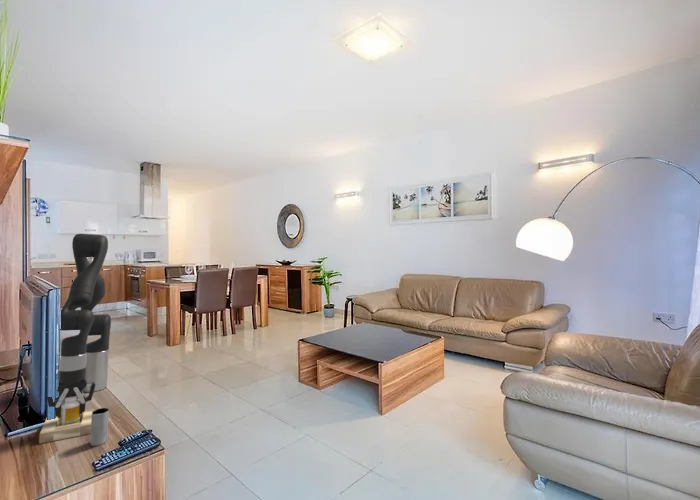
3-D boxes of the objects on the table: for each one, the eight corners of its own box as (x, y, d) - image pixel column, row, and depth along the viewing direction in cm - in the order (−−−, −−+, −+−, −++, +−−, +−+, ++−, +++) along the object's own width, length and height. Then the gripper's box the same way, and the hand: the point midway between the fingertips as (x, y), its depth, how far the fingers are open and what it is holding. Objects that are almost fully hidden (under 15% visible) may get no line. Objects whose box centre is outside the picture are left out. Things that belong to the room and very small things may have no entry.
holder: (46, 424, 124) (47, 416, 124) (95, 416, 131) (95, 408, 131) (39, 443, 112) (39, 434, 112) (92, 432, 120) (93, 424, 120)
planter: (108, 437, 117) (110, 407, 117) (104, 444, 113) (106, 413, 113) (92, 439, 115) (94, 408, 116) (88, 447, 111) (89, 414, 111)
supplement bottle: (83, 420, 124) (85, 393, 124) (70, 428, 119) (71, 399, 119) (69, 419, 125) (71, 392, 125) (55, 426, 119) (57, 398, 119)
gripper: (98, 361, 129) (96, 406, 129) (48, 366, 121) (45, 415, 121) (97, 367, 123) (94, 415, 123) (44, 373, 115) (41, 424, 115)
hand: (70, 415), depth 122 cm, fingers closed on supplement bottle, 5 cm apart
